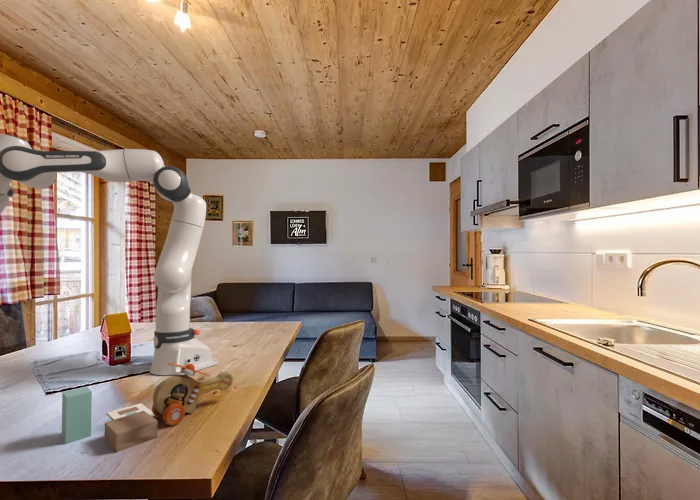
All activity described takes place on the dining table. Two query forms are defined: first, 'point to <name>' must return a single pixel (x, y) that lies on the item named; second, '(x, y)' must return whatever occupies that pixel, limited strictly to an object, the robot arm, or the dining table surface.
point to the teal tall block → (76, 414)
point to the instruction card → (129, 411)
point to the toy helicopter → (184, 393)
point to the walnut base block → (130, 430)
